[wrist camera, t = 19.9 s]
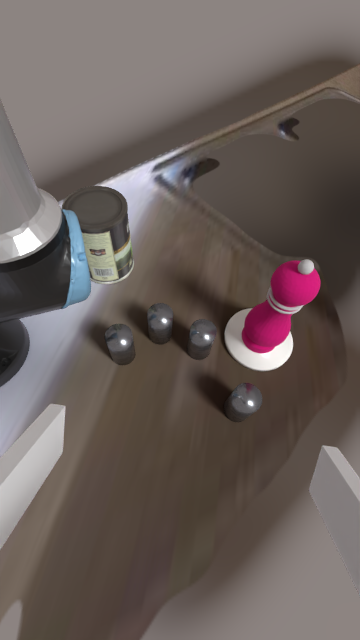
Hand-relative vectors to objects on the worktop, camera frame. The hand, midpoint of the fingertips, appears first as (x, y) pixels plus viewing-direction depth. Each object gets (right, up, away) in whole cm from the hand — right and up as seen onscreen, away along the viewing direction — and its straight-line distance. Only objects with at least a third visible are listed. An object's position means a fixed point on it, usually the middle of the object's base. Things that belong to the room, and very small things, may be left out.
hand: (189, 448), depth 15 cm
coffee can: (-15, +18, +44) cm, 50 cm away
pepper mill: (+13, +3, +37) cm, 40 cm away
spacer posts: (-1, -3, +33) cm, 34 cm away
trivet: (+13, +3, +38) cm, 40 cm away
